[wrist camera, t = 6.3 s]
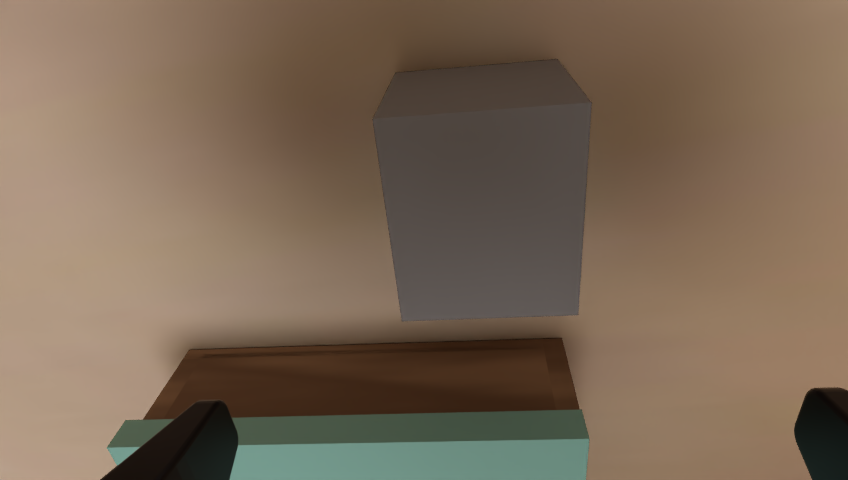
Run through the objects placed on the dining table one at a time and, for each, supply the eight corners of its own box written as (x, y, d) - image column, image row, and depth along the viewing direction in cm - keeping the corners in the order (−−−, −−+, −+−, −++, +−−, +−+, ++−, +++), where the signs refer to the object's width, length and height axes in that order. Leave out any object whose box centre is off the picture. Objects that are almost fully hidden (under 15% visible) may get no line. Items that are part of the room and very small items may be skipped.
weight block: (551, 229, 19) (578, 315, 15) (415, 236, 20) (401, 321, 15) (556, 58, 16) (591, 102, 12) (395, 71, 17) (372, 118, 12)
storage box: (553, 517, 27) (567, 601, 24) (258, 516, 29) (230, 594, 25) (561, 338, 21) (580, 415, 18) (189, 349, 23) (140, 423, 19)
